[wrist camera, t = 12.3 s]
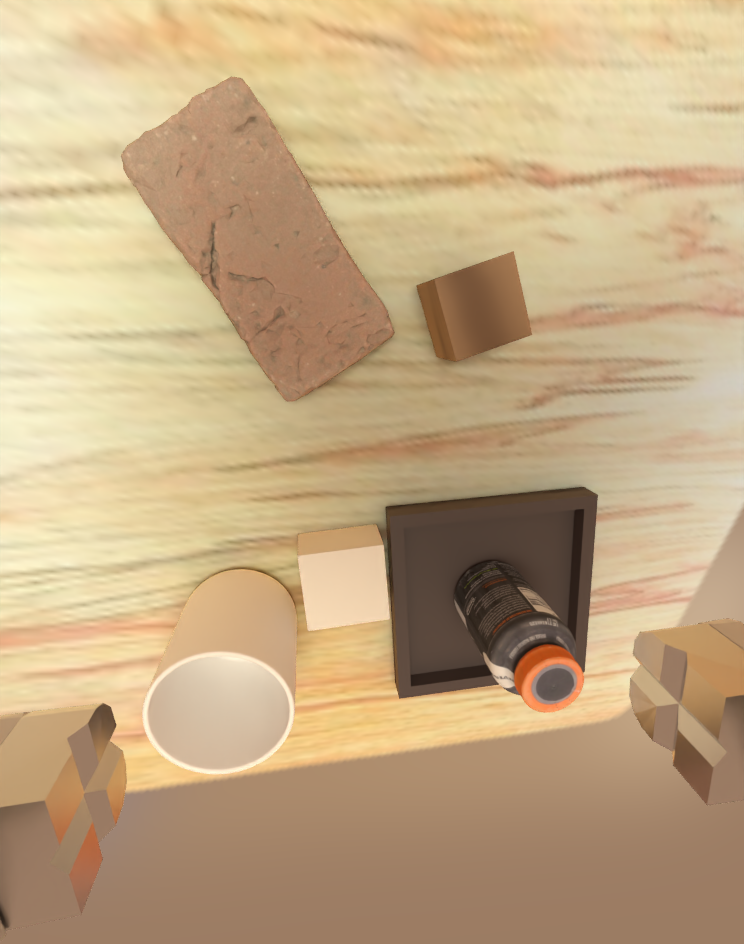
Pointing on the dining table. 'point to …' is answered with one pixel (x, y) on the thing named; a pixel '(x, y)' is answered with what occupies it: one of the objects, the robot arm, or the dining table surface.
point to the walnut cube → (475, 308)
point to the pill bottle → (519, 636)
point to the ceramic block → (343, 577)
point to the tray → (466, 545)
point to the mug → (226, 676)
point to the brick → (258, 237)
